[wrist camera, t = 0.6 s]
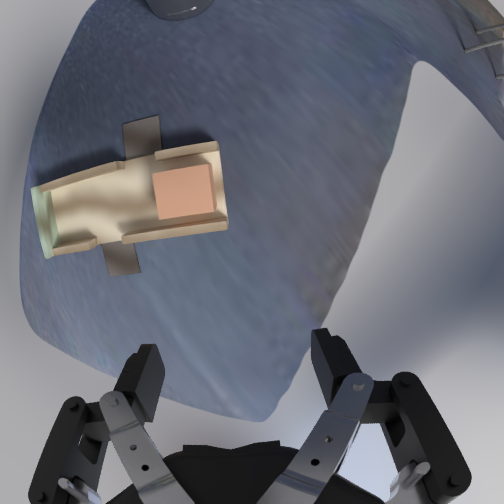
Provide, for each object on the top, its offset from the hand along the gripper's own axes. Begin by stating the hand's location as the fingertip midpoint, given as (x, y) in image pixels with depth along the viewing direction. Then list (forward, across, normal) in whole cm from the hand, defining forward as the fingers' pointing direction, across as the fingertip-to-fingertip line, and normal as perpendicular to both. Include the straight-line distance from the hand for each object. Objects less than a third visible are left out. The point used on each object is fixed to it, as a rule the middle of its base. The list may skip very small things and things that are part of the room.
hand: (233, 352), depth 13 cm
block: (+22, +5, -7) cm, 23 cm away
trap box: (+23, +14, -6) cm, 27 cm away
